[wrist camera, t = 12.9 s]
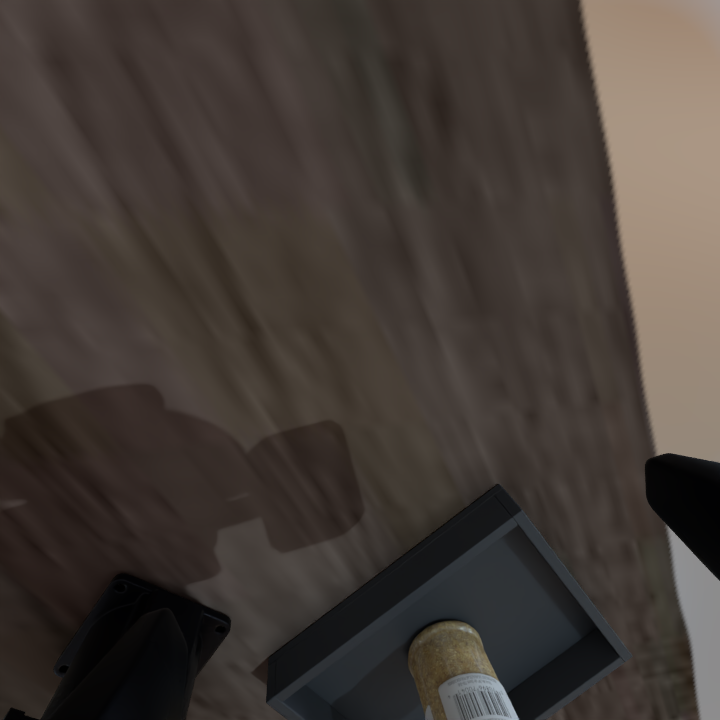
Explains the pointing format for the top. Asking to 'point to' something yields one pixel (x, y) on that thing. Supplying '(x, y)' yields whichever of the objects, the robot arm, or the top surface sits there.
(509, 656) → the tray
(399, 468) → the top surface
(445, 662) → the sprinkles bottle
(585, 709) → the top surface
